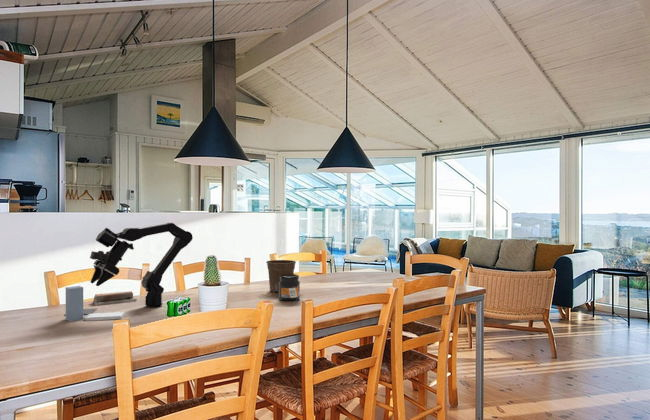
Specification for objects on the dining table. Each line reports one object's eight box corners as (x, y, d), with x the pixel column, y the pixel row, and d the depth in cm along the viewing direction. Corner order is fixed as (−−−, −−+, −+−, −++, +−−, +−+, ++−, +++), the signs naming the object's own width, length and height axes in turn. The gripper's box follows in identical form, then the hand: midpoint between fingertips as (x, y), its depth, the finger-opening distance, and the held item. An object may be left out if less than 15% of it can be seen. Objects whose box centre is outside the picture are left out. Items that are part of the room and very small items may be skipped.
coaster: (96, 309, 198) (96, 308, 198) (90, 314, 189) (90, 313, 189) (72, 310, 196) (72, 309, 196) (64, 315, 186) (64, 314, 186)
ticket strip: (125, 314, 188) (125, 311, 188) (121, 318, 182) (121, 315, 182) (89, 316, 185) (89, 313, 185) (83, 320, 179) (83, 317, 179)
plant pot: (284, 286, 255) (284, 258, 255) (301, 291, 243) (301, 261, 243) (260, 290, 245) (260, 261, 245) (277, 294, 232) (277, 263, 232)
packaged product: (95, 296, 206) (92, 292, 214) (95, 306, 206) (92, 303, 214) (137, 292, 216) (132, 289, 224) (137, 302, 216) (132, 298, 224)
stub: (79, 317, 184) (79, 285, 184) (83, 319, 181) (83, 287, 181) (65, 319, 181) (65, 287, 181) (69, 321, 177) (69, 288, 177)
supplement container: (295, 302, 214) (295, 277, 214) (275, 300, 217) (275, 276, 217) (302, 298, 224) (303, 274, 224) (283, 296, 227) (283, 273, 227)
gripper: (94, 241, 198) (71, 272, 192) (106, 244, 183) (81, 277, 178) (116, 254, 204) (95, 284, 198) (129, 258, 189) (106, 291, 184)
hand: (94, 284), depth 189 cm, fingers open, 9 cm apart
